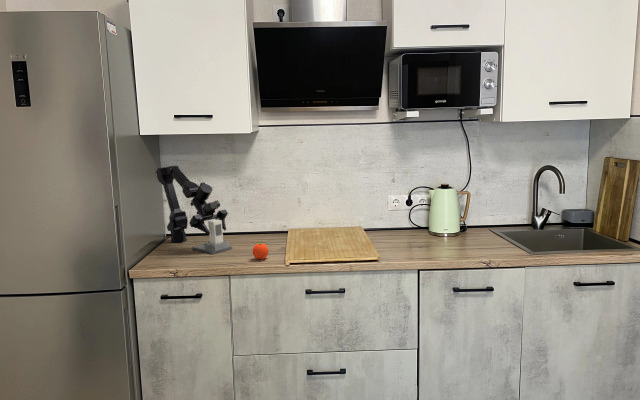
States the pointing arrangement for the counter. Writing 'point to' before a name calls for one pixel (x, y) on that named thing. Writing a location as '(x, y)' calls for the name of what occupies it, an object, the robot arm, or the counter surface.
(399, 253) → the counter surface
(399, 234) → the counter surface
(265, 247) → the clementine
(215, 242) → the white handset
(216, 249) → the dock
